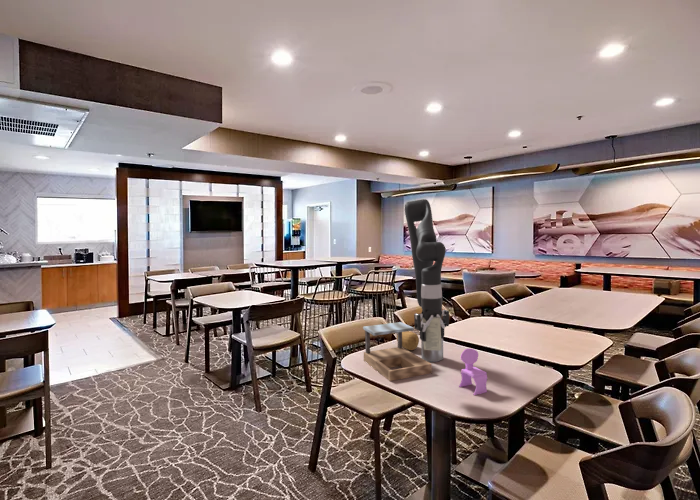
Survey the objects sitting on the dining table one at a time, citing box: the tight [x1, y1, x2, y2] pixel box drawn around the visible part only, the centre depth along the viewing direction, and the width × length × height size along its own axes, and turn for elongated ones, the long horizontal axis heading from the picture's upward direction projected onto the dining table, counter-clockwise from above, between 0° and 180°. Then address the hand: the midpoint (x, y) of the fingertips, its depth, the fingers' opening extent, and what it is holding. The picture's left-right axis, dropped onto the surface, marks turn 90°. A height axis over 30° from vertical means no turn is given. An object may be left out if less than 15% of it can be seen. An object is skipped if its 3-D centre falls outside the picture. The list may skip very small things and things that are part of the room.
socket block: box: [362, 321, 433, 382], centre depth 165 cm, size 20×26×16 cm
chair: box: [458, 347, 488, 396], centre depth 140 cm, size 8×9×15 cm
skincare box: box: [423, 317, 442, 350], centre depth 138 cm, size 6×4×12 cm
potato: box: [396, 331, 420, 352], centre depth 190 cm, size 9×16×9 cm, turn 18°
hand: (432, 339), depth 138 cm, fingers closed on skincare box, 7 cm apart
